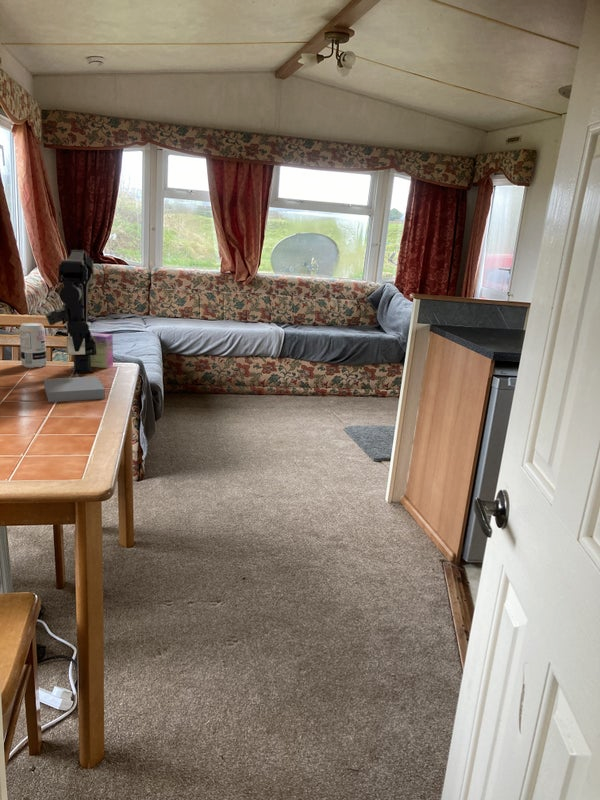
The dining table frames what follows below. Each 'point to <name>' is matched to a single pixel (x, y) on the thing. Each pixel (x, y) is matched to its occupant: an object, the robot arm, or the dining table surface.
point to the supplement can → (32, 345)
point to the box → (102, 350)
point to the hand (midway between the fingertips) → (75, 349)
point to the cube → (71, 347)
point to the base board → (73, 389)
